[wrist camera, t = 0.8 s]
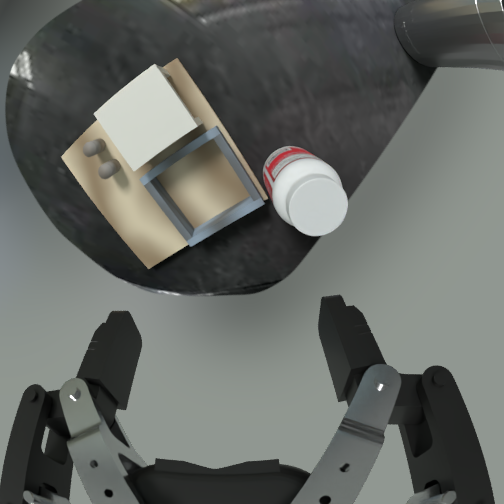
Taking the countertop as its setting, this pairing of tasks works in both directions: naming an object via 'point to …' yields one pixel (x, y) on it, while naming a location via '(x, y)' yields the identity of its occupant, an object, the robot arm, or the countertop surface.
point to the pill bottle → (305, 191)
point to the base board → (169, 181)
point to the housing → (146, 117)
